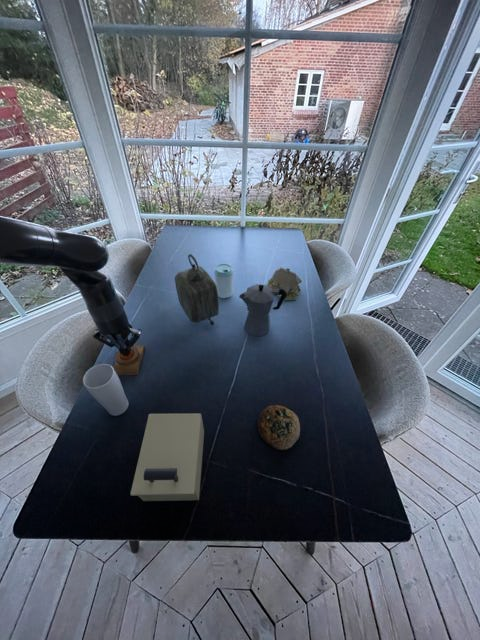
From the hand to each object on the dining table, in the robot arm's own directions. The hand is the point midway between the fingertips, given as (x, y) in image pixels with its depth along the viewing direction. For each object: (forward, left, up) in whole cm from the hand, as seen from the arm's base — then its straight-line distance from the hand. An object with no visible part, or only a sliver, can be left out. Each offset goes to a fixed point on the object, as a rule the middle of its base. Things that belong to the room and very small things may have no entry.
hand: (126, 353), depth 78 cm
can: (+41, +10, -4) cm, 43 cm away
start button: (0, 0, -2) cm, 2 cm away
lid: (-2, -34, +5) cm, 35 cm away
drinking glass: (-8, -13, -4) cm, 15 cm away
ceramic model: (+62, -2, -4) cm, 63 cm away
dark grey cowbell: (+26, +4, -4) cm, 27 cm away
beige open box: (-2, -34, -4) cm, 34 cm away
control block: (0, 0, -4) cm, 4 cm away
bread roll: (+22, -42, -4) cm, 48 cm away
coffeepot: (+41, -12, -4) cm, 43 cm away
